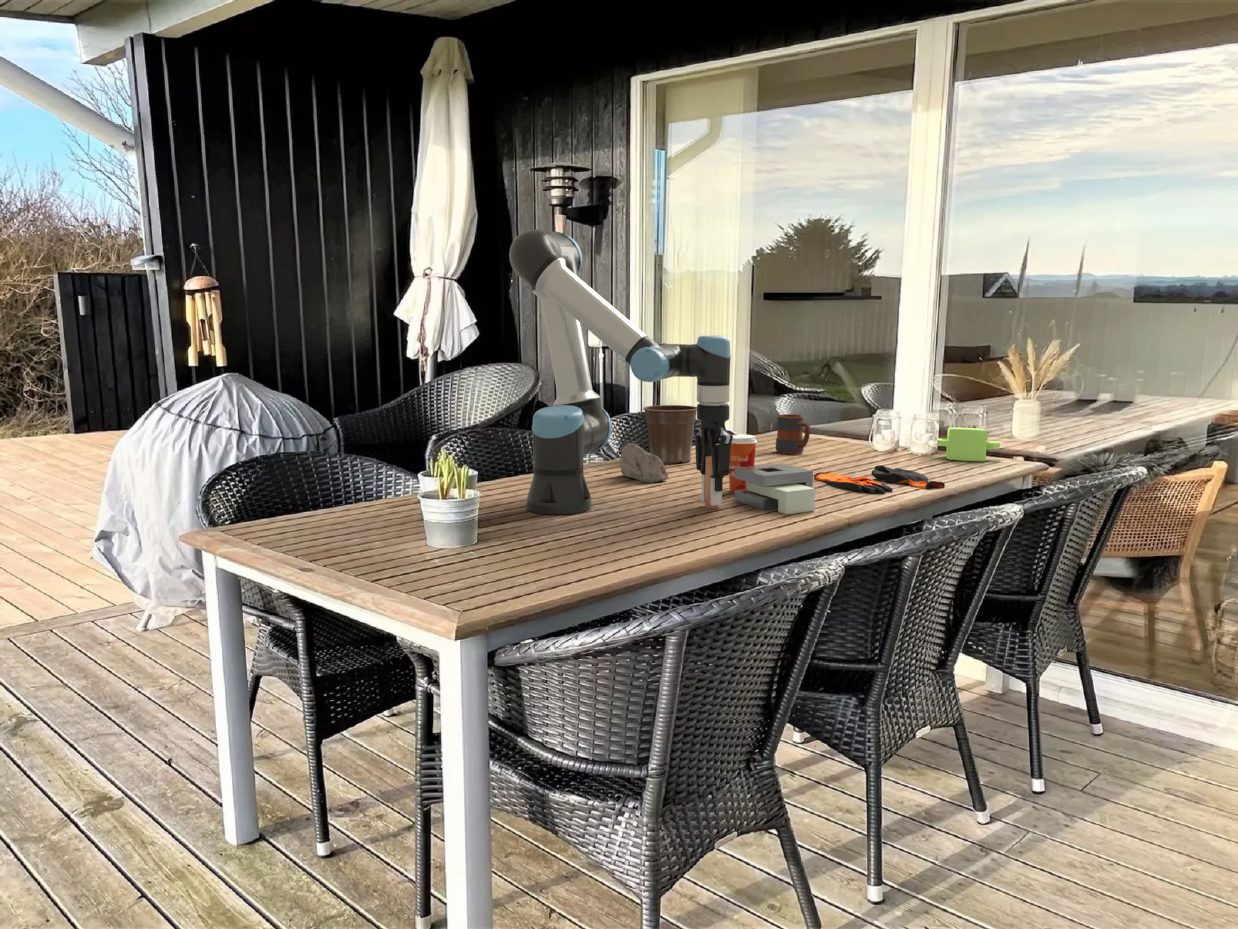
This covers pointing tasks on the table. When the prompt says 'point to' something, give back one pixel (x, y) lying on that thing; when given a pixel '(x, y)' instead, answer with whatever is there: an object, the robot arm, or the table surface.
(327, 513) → the table surface
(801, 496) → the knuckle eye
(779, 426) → the mug
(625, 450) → the pumice stone
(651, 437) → the plant pot
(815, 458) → the table surface
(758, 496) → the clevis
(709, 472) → the pin
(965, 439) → the gearbox
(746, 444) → the paper cup
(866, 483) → the pair of gloves
